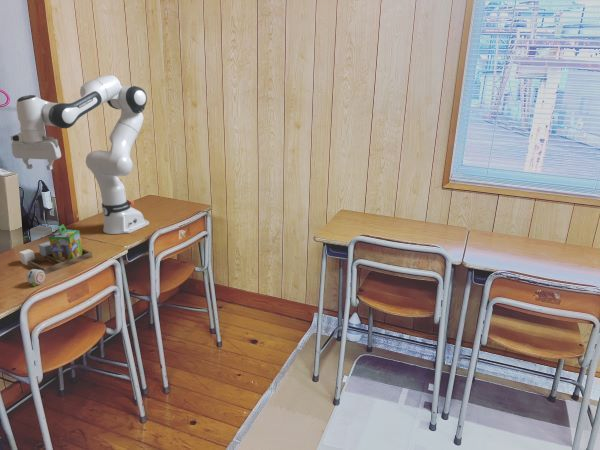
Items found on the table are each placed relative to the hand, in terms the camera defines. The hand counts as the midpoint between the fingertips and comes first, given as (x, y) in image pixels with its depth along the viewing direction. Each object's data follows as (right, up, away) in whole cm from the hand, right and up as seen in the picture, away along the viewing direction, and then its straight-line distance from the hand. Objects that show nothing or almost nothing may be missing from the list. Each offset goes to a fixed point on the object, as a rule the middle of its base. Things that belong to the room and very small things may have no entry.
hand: (39, 169), depth 209 cm
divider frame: (+8, -39, +2) cm, 40 cm away
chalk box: (+10, -38, +5) cm, 40 cm away
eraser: (-6, -39, +1) cm, 40 cm away
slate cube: (-1, -37, +9) cm, 38 cm away
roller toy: (+8, -46, -17) cm, 50 cm away
